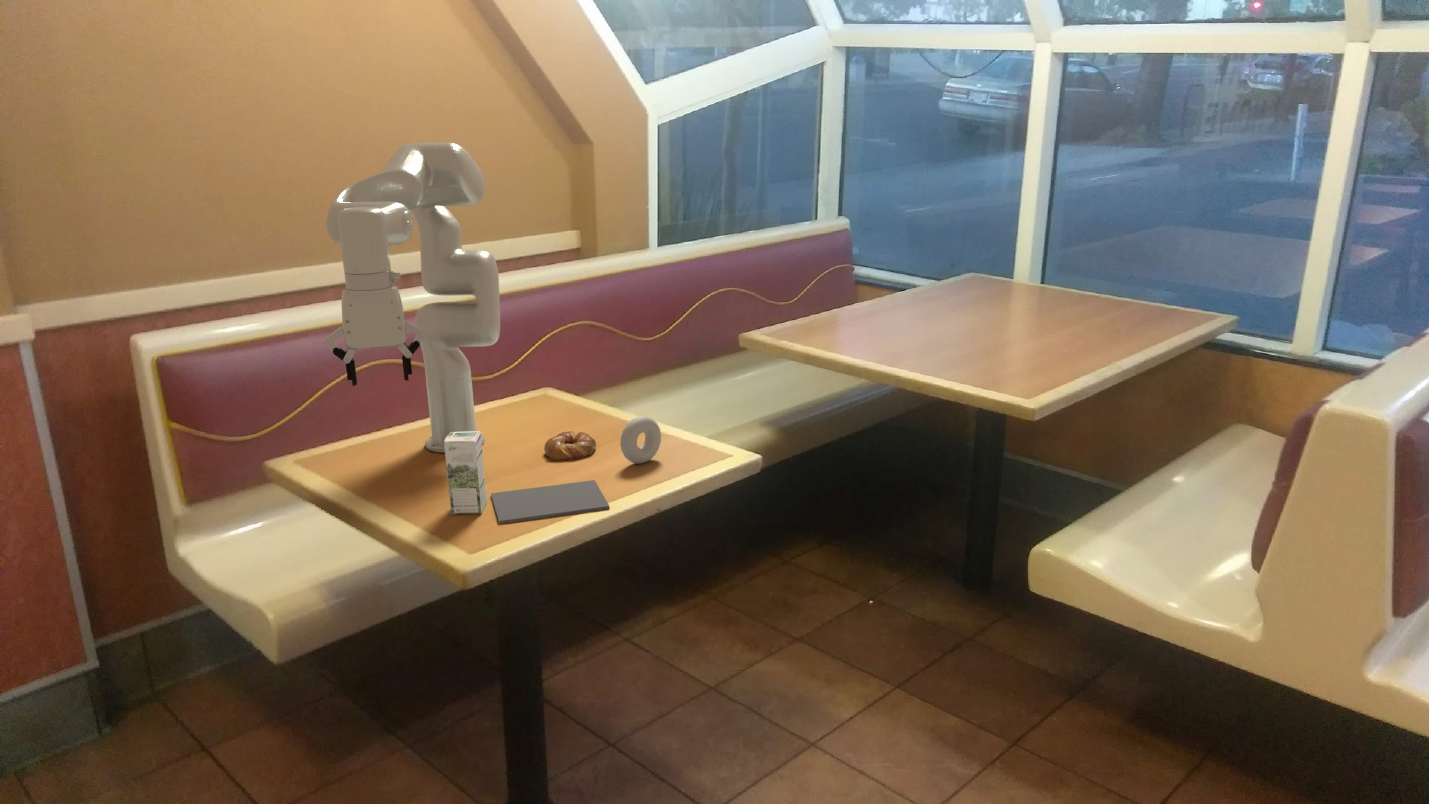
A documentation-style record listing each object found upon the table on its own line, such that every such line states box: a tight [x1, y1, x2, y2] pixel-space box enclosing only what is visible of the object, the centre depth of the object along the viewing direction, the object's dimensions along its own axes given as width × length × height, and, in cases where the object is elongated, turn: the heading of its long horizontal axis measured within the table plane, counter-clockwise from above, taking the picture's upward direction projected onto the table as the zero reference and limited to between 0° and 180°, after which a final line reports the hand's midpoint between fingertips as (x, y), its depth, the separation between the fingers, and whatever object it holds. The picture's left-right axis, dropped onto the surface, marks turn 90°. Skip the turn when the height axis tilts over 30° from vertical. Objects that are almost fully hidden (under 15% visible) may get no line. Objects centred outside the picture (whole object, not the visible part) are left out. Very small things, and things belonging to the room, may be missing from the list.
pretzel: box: [543, 431, 597, 462], centre depth 216 cm, size 12×11×4 cm
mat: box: [490, 479, 610, 525], centre depth 189 cm, size 14×20×1 cm
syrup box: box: [444, 430, 488, 515], centre depth 185 cm, size 6×6×14 cm
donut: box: [619, 415, 662, 465], centre depth 208 cm, size 10×4×10 cm, turn 135°
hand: (380, 380), depth 176 cm, fingers open, 8 cm apart
